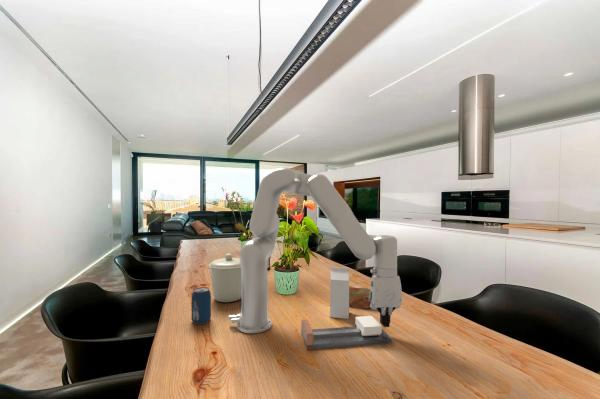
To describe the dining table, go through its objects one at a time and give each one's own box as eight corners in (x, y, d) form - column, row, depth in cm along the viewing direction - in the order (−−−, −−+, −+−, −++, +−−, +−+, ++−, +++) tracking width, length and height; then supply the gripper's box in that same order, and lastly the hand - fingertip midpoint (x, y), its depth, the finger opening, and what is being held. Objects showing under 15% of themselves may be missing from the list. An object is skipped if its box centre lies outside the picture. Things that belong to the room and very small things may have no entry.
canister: (244, 290, 141) (245, 249, 141) (251, 303, 124) (251, 255, 124) (207, 294, 135) (207, 251, 135) (209, 308, 118) (209, 258, 118)
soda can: (211, 316, 110) (211, 286, 110) (210, 324, 103) (210, 291, 103) (192, 318, 108) (192, 287, 108) (190, 326, 101) (190, 293, 101)
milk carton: (348, 319, 108) (348, 270, 108) (330, 317, 109) (330, 269, 109) (348, 312, 115) (349, 266, 115) (331, 310, 116) (331, 265, 116)
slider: (364, 338, 90) (364, 327, 90) (355, 326, 98) (355, 316, 98) (381, 336, 91) (381, 325, 91) (371, 325, 98) (371, 315, 98)
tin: (338, 304, 123) (338, 285, 123) (340, 302, 126) (340, 283, 126) (373, 310, 117) (373, 290, 117) (374, 307, 120) (374, 287, 120)
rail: (306, 350, 86) (306, 333, 86) (301, 334, 96) (301, 319, 96) (391, 343, 90) (391, 327, 90) (378, 328, 100) (378, 315, 100)
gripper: (369, 275, 90) (368, 332, 90) (411, 274, 93) (411, 329, 93) (360, 269, 98) (360, 322, 98) (400, 268, 100) (399, 319, 100)
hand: (385, 325), depth 95 cm, fingers closed
